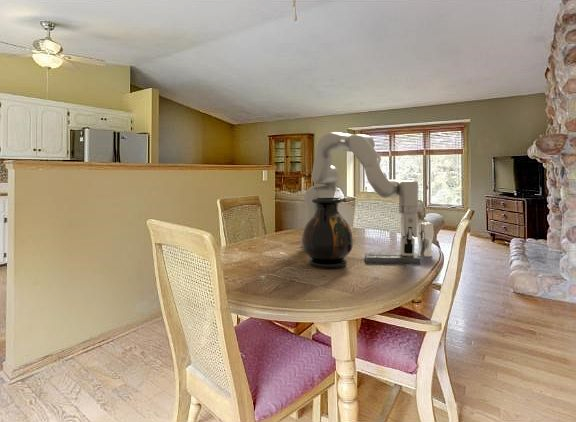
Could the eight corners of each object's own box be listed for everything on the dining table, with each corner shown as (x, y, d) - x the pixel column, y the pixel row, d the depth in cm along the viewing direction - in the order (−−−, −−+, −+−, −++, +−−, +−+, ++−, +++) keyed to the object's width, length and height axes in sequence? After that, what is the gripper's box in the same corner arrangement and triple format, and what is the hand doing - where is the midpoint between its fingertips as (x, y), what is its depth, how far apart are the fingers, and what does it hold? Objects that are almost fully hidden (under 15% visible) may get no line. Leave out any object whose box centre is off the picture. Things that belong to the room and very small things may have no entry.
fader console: (366, 263, 150) (366, 257, 150) (364, 258, 159) (364, 252, 159) (420, 264, 147) (420, 258, 147) (415, 258, 156) (415, 253, 156)
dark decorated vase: (348, 273, 136) (348, 201, 132) (295, 269, 143) (293, 200, 140) (357, 260, 156) (357, 196, 153) (310, 256, 163) (309, 196, 160)
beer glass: (434, 257, 157) (435, 224, 156) (417, 257, 159) (418, 224, 157) (431, 253, 164) (432, 222, 163) (415, 253, 166) (416, 221, 164)
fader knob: (402, 255, 150) (402, 239, 149) (400, 253, 154) (400, 237, 153) (414, 255, 149) (414, 239, 149) (412, 253, 153) (412, 237, 153)
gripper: (422, 212, 141) (420, 256, 143) (413, 207, 157) (412, 247, 159) (402, 212, 142) (401, 256, 144) (395, 207, 158) (395, 247, 160)
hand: (407, 251), depth 152 cm, fingers closed on fader knob, 4 cm apart
